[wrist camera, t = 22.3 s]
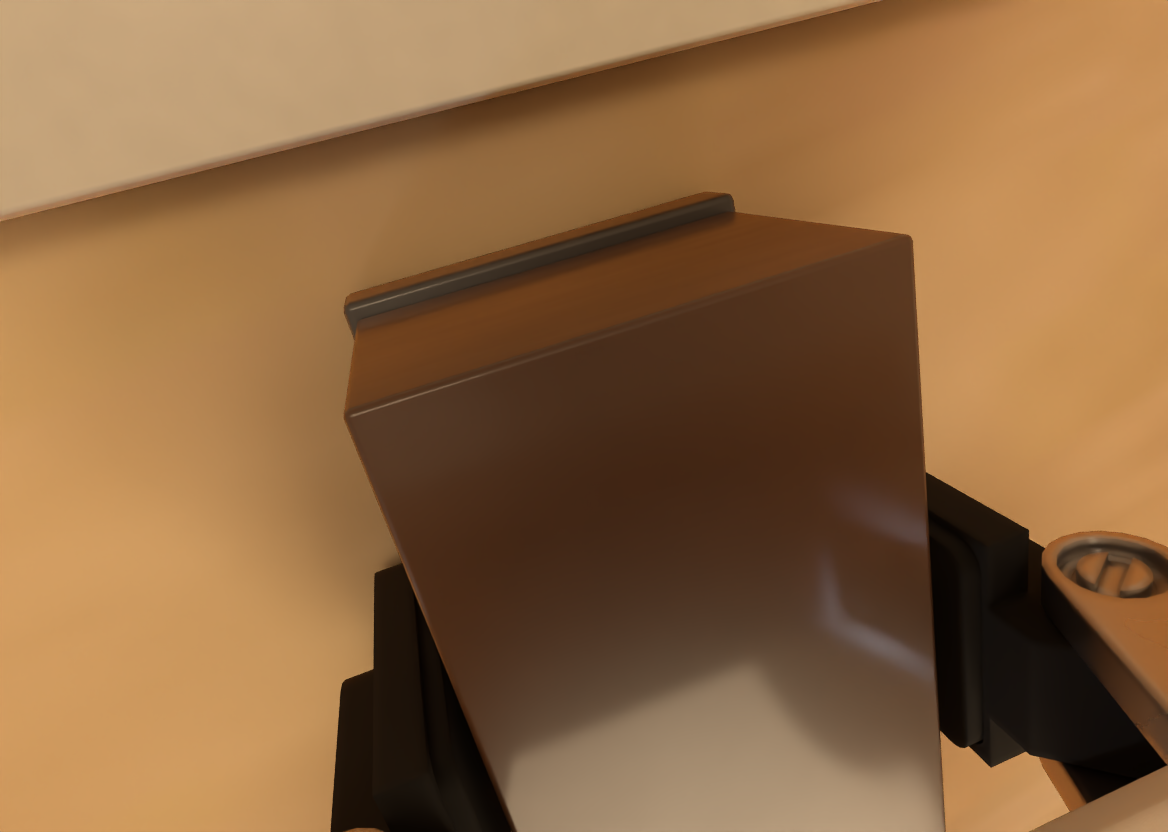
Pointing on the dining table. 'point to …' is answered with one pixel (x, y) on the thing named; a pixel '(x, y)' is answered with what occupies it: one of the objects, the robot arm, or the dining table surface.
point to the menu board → (294, 73)
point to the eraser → (669, 518)
